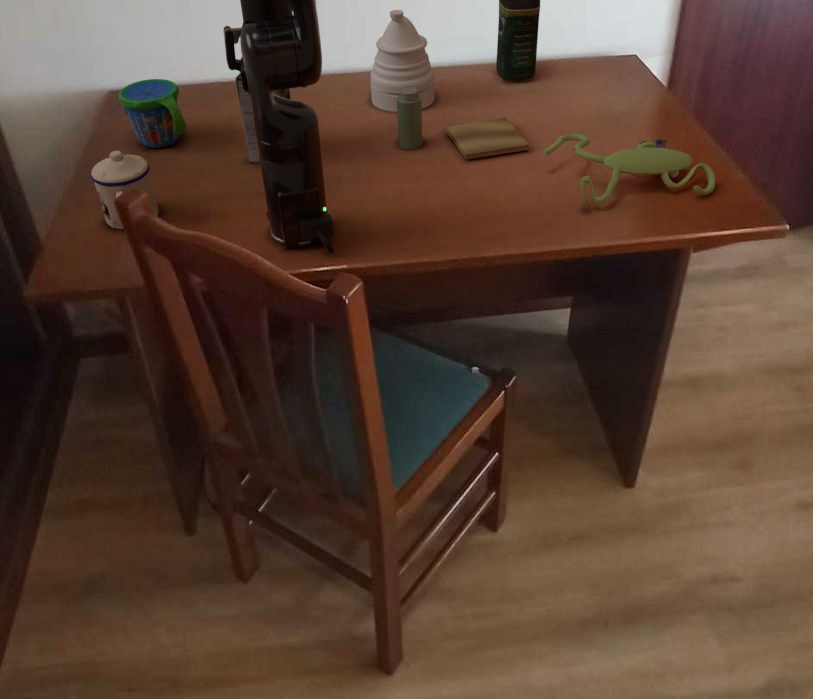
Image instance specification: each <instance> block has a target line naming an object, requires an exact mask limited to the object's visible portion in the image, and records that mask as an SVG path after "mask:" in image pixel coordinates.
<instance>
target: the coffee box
mask: <svg viewBox="0 0 813 699" xmlns="http://www.w3.org/2000/svg"><path fill="white" fill-rule="evenodd" d="M235 83H236V89H237V96H238V100H239V107H240V114H241V118H242V125H243V132H244V137H245V143H246V149H247V155H248V161H249V162H250V163H258V164H261V163H260V157H259V150H258V143H257V137H256V130H255V122H254V115H253V108H252V102H251V96H250V95H249V93H248V91H247V92H245V90H244V89H243V85H242V79H241V73H240V72H239V73H238V74H237V76H235ZM273 93H274V94H276V95H278V96H280V97H283V98H285V99H289V100H292V99H291V91H290V89H283V90H276V91H273Z"/></svg>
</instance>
